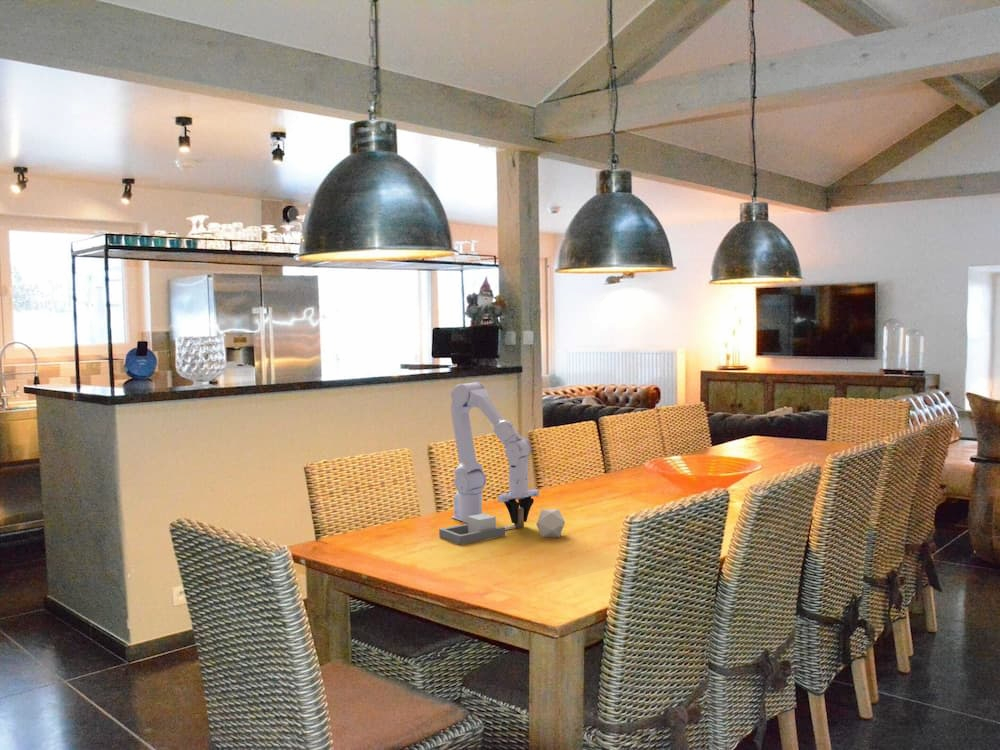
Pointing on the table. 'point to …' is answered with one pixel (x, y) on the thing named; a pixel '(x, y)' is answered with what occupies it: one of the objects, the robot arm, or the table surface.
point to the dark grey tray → (469, 534)
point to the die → (550, 523)
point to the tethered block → (491, 522)
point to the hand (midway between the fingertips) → (519, 522)
